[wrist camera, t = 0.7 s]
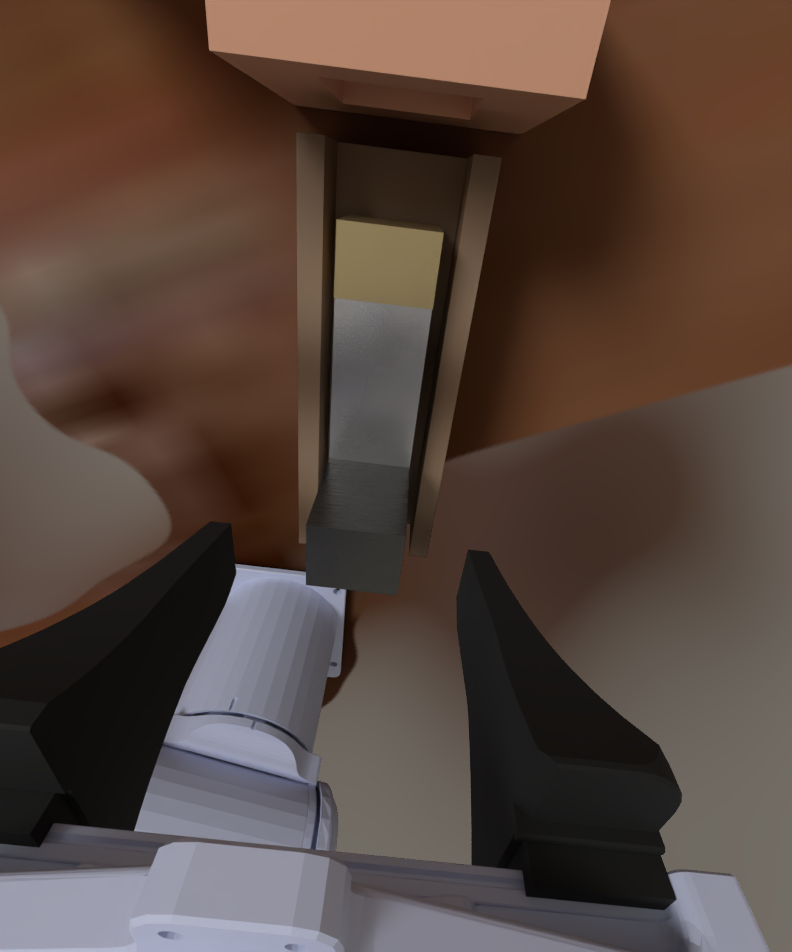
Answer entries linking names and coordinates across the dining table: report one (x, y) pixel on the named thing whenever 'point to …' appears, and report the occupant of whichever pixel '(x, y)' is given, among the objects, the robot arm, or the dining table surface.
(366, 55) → the tan square block
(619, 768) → the robot arm
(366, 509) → the slide bar
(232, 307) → the dining table surface
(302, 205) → the guide channel
